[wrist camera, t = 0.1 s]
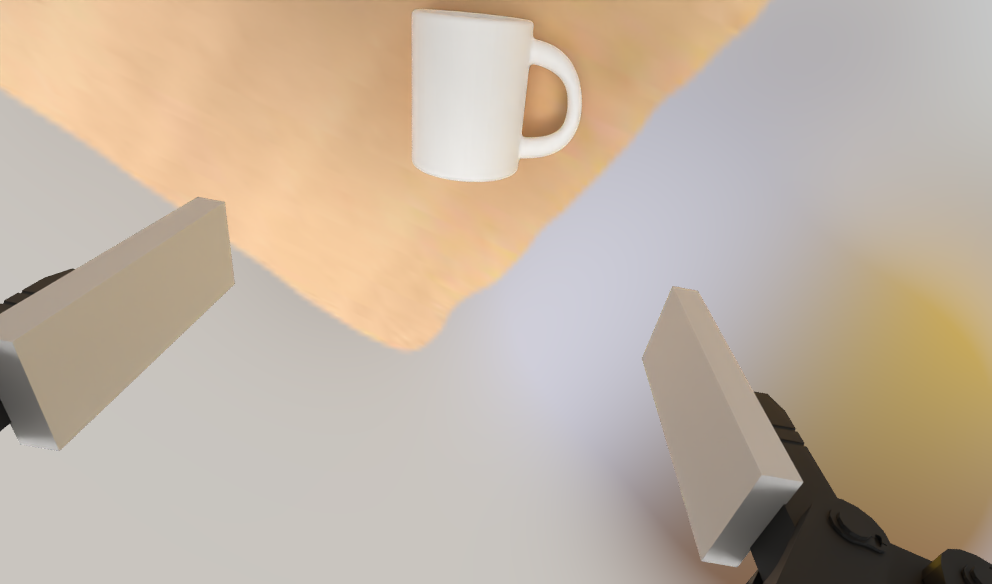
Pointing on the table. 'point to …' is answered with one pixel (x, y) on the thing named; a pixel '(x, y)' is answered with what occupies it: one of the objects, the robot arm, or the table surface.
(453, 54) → the mug
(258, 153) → the table surface
